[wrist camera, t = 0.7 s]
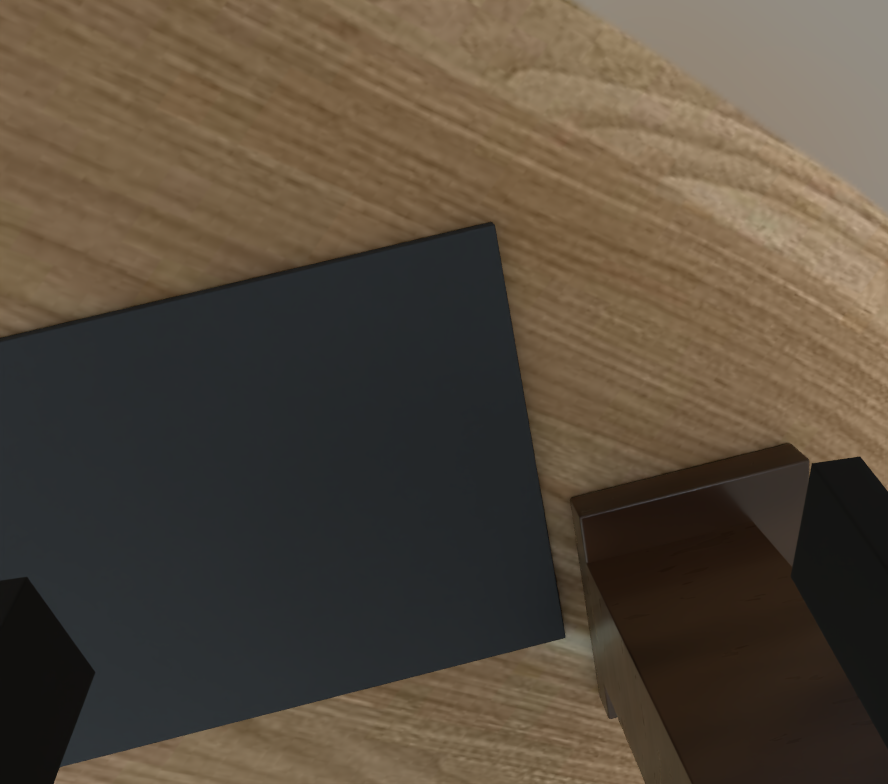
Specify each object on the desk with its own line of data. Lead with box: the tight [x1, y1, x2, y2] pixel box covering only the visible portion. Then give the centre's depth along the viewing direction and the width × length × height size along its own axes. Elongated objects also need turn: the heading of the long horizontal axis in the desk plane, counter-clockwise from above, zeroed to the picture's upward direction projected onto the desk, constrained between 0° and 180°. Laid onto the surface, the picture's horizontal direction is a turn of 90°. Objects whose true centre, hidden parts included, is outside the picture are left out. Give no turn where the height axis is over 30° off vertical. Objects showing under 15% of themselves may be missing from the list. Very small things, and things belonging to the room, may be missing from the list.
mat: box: [0, 222, 565, 767], centre depth 24 cm, size 16×20×1 cm
